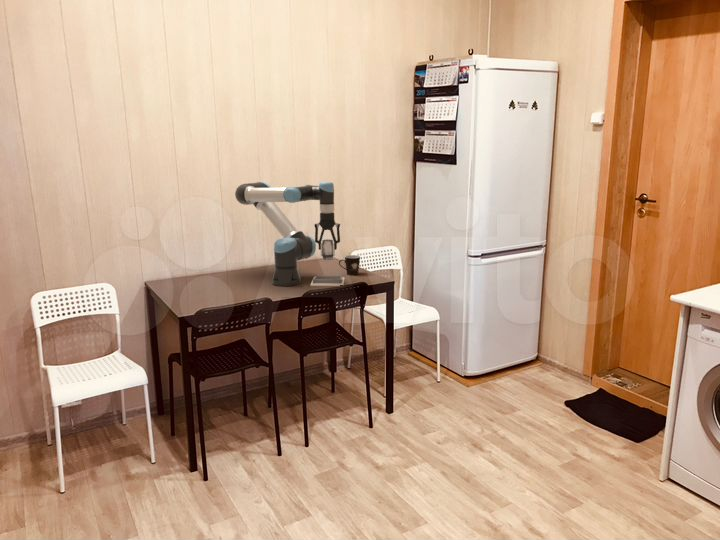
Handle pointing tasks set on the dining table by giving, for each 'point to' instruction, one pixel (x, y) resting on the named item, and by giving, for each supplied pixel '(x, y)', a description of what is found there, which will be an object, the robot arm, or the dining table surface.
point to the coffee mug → (351, 264)
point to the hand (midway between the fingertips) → (327, 255)
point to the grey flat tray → (327, 281)
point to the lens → (327, 249)
